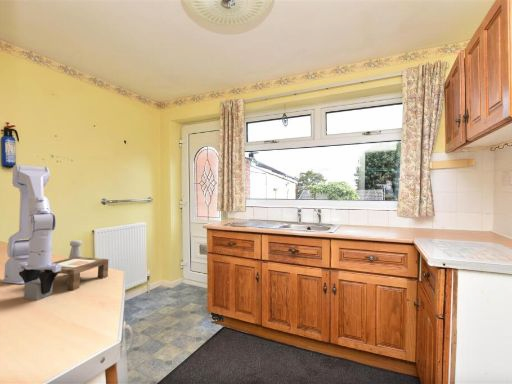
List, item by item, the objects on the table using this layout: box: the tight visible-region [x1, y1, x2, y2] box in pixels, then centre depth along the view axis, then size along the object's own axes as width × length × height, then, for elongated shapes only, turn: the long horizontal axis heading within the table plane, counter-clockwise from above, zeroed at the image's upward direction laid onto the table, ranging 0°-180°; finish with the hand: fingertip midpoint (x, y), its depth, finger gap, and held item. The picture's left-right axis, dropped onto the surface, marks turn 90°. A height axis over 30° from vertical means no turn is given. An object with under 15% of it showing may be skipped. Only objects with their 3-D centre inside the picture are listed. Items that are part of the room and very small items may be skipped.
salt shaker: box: [68, 239, 83, 258], centre depth 111 cm, size 6×6×13 cm
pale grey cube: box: [23, 279, 54, 301], centre depth 82 cm, size 5×5×5 cm
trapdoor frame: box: [38, 256, 109, 291], centre depth 97 cm, size 16×16×7 cm
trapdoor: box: [58, 259, 96, 268], centre depth 97 cm, size 10×10×1 cm
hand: (38, 292), depth 82 cm, fingers closed on pale grey cube, 5 cm apart
